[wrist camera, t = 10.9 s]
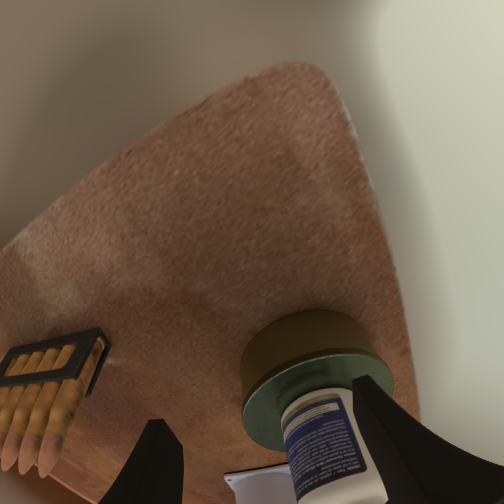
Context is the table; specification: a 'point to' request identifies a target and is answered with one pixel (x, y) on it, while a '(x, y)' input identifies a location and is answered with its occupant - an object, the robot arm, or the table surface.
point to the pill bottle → (329, 451)
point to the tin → (302, 368)
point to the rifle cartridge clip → (45, 396)
